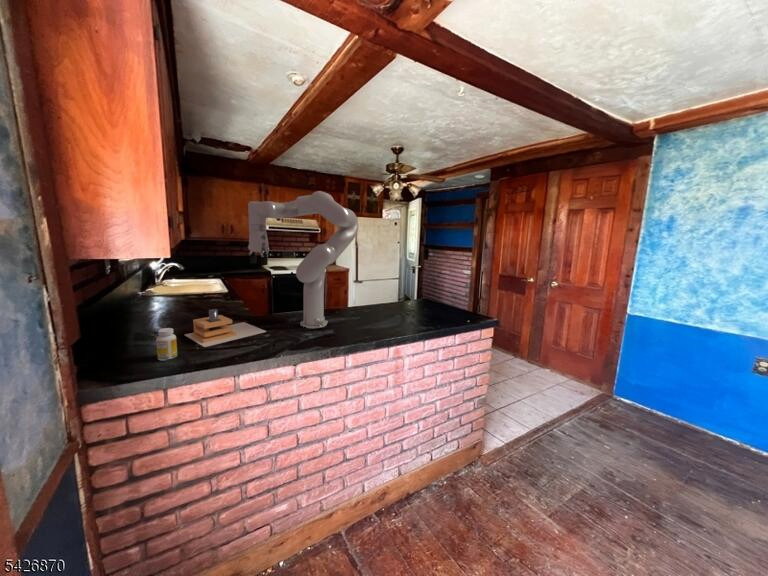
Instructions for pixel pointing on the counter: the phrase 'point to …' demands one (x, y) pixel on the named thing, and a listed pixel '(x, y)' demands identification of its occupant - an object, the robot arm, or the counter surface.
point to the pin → (213, 317)
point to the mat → (241, 332)
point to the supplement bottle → (166, 344)
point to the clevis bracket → (206, 335)
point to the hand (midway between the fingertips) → (258, 264)
